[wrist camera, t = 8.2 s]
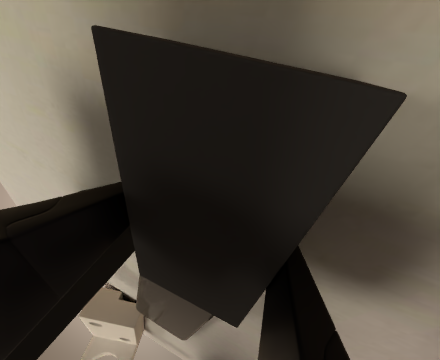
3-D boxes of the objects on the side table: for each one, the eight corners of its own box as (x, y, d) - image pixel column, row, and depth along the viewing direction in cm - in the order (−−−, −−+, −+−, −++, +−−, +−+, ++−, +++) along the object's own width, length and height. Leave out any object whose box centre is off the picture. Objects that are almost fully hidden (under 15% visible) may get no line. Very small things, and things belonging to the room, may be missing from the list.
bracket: (146, 322, 33) (124, 383, 27) (108, 314, 33) (78, 374, 27) (146, 297, 26) (115, 374, 20) (96, 286, 25) (50, 361, 19)
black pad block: (147, 237, 14) (-144, 561, 5) (114, 235, 17) (-132, 459, 7) (112, 184, 12) (-482, 557, 3) (80, 190, 15) (-326, 419, 5)
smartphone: (148, 242, 15) (138, 302, 24) (140, 251, 14) (134, 309, 24) (232, 293, 14) (188, 334, 24) (229, 305, 13) (185, 343, 23)
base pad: (249, 277, 12) (237, 328, 10) (167, 238, 13) (139, 275, 11) (361, 81, 5) (411, 94, 3) (166, 39, 6) (88, 23, 4)
